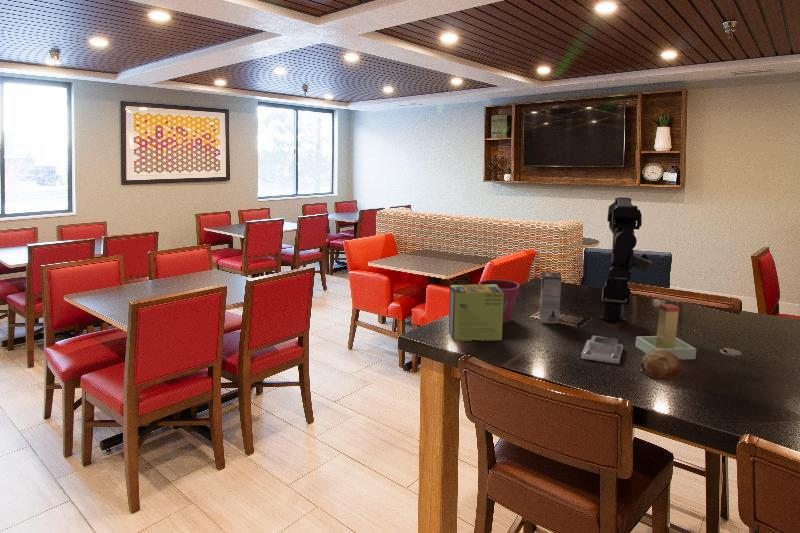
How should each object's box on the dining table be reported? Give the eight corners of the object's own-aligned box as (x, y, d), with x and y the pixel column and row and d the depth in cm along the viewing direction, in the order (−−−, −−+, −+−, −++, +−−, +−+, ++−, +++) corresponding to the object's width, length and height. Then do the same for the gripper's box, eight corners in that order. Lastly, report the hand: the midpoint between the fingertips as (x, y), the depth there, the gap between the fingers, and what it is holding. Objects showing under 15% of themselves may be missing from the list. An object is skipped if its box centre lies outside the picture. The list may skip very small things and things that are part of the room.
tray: (635, 346, 166) (636, 336, 165) (672, 345, 166) (673, 335, 166) (655, 360, 154) (656, 349, 154) (695, 359, 155) (696, 349, 155)
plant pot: (523, 325, 186) (525, 288, 183) (482, 326, 184) (484, 288, 182) (511, 313, 200) (512, 278, 197) (473, 314, 198) (474, 279, 196)
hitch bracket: (587, 344, 167) (587, 333, 166) (622, 349, 163) (623, 338, 162) (581, 358, 155) (582, 346, 155) (619, 364, 151) (620, 352, 150)
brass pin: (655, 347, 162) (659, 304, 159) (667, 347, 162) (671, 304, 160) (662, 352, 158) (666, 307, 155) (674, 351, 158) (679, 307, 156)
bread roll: (638, 378, 151) (628, 354, 149) (672, 362, 151) (663, 337, 149) (657, 394, 141) (647, 367, 139) (694, 376, 141) (684, 350, 139)
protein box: (502, 340, 170) (504, 291, 167) (453, 341, 169) (454, 292, 166) (494, 330, 180) (496, 283, 177) (448, 330, 179) (449, 284, 176)
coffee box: (538, 315, 197) (541, 271, 194) (557, 316, 196) (560, 272, 192) (540, 322, 188) (542, 276, 185) (559, 324, 187) (562, 277, 184)
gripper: (652, 252, 159) (646, 305, 162) (651, 243, 176) (646, 291, 179) (610, 250, 163) (606, 301, 166) (613, 241, 180) (610, 287, 183)
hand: (618, 295), depth 174 cm, fingers open, 9 cm apart
